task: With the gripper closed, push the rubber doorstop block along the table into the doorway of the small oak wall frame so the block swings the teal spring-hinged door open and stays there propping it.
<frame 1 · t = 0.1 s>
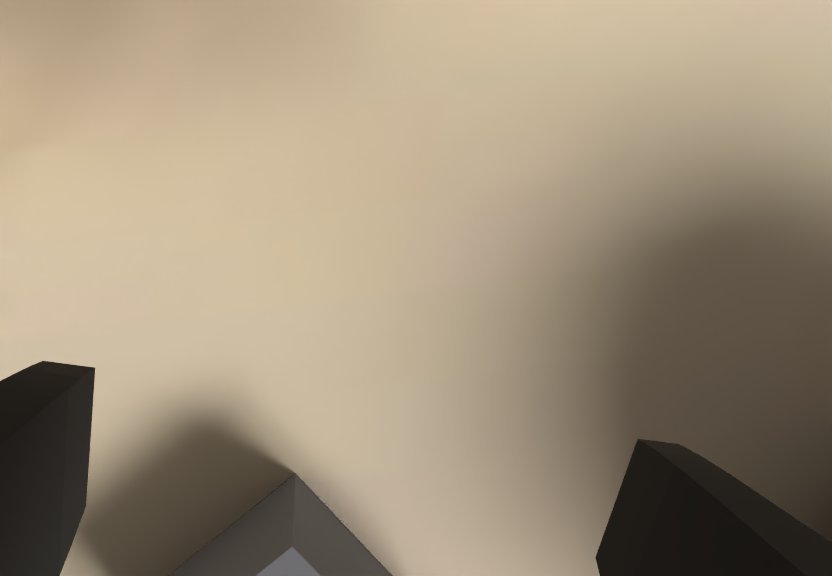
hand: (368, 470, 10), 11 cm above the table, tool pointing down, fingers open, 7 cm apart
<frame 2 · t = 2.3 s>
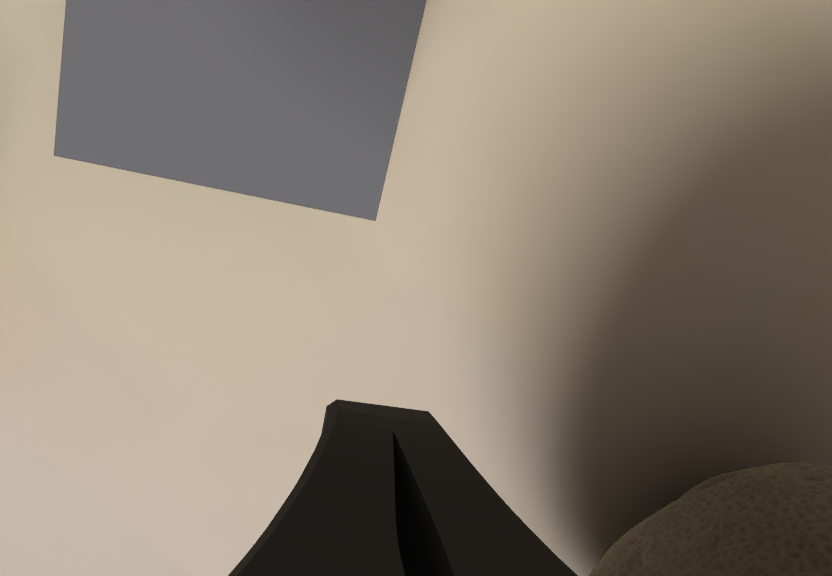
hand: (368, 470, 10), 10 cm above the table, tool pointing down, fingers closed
cantaloupe: (689, 542, 24), on the table
doorstop: (263, 19, 17), on the table
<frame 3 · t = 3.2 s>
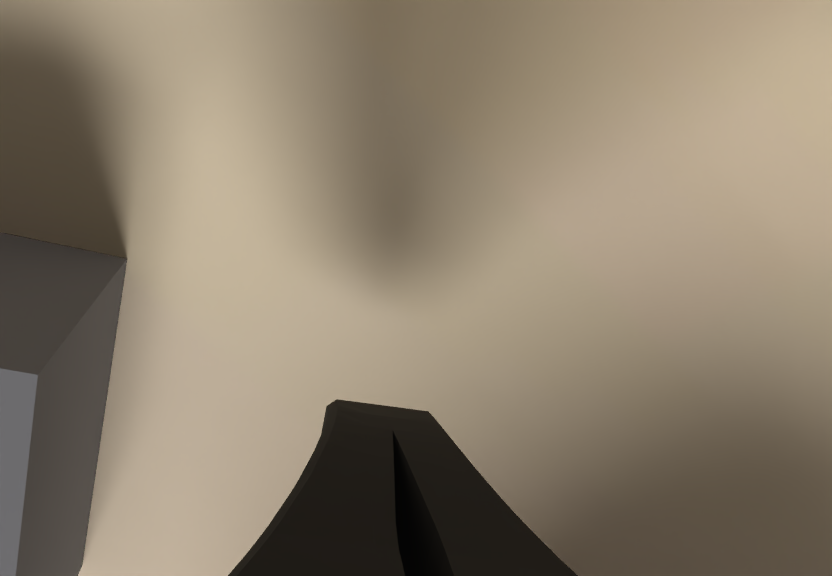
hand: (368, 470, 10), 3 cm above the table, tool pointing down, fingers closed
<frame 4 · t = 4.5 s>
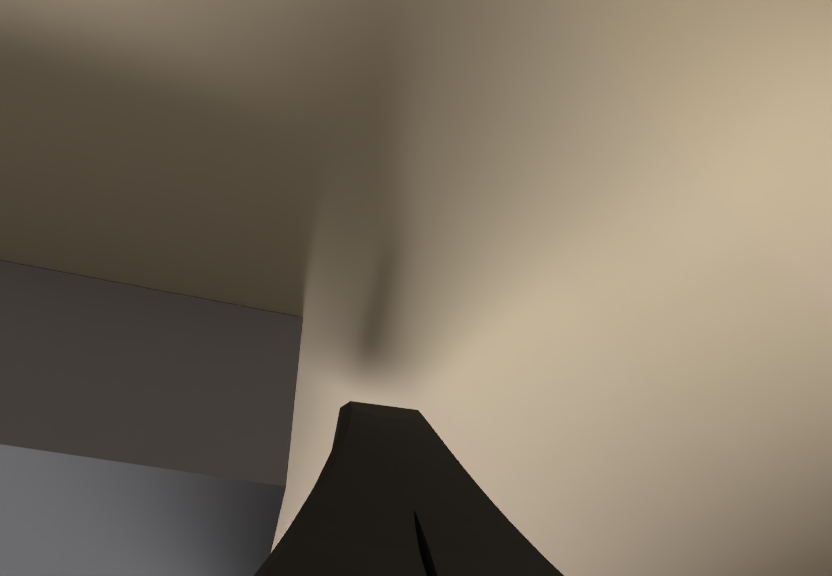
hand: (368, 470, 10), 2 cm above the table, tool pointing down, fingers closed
doorstop: (64, 460, 11), on the table, touching gripper
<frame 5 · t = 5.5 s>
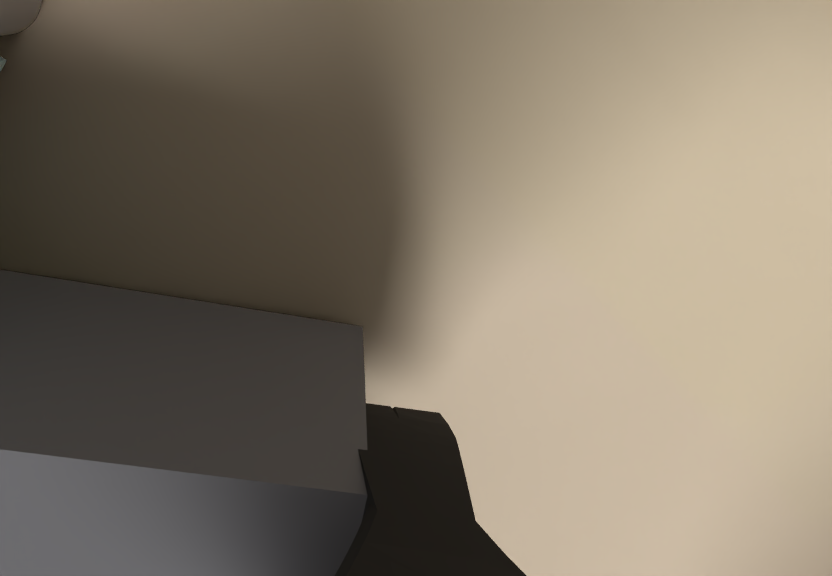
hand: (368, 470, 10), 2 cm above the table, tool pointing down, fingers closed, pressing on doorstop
doorstop: (132, 475, 11), on the table, touching door, gripper
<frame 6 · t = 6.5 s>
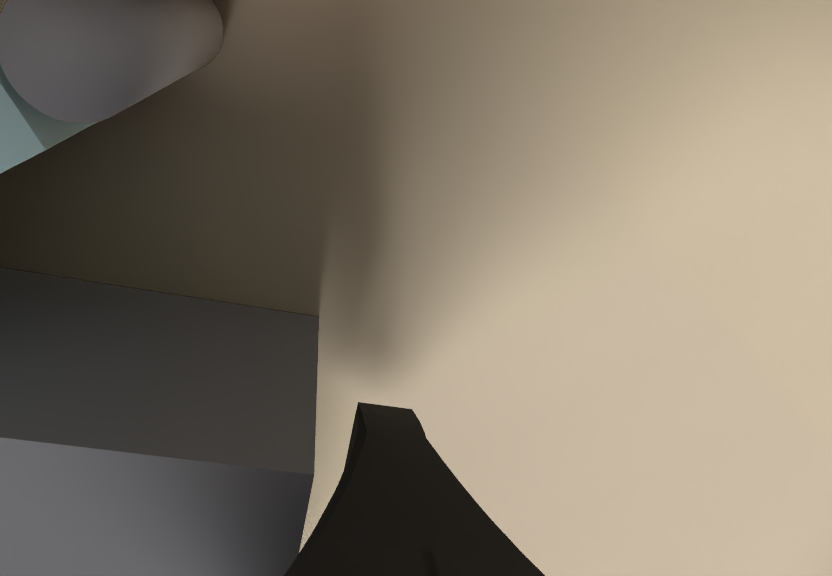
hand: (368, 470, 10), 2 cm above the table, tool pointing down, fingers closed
doorstop: (87, 468, 11), on the table, touching door, gripper
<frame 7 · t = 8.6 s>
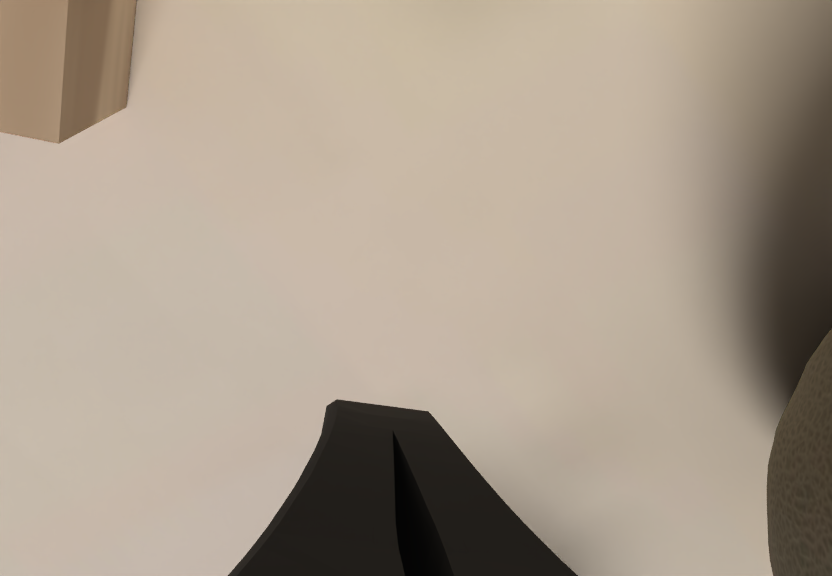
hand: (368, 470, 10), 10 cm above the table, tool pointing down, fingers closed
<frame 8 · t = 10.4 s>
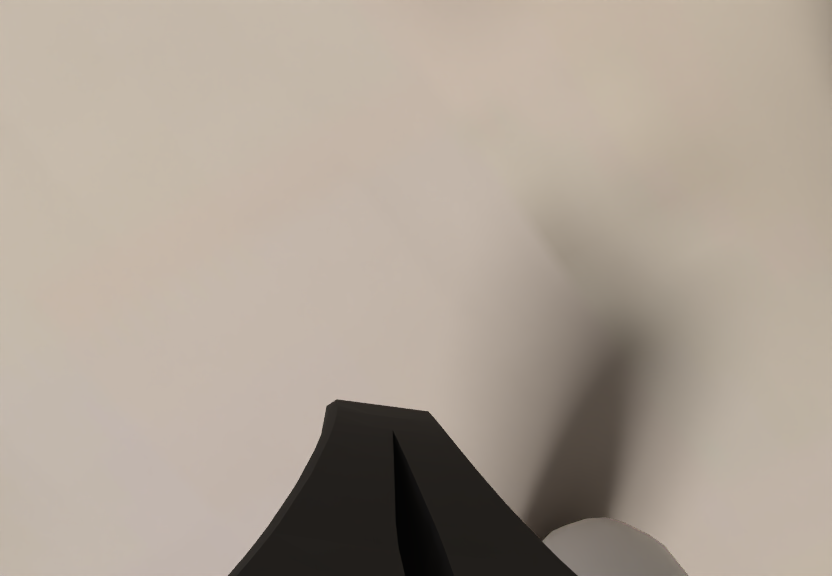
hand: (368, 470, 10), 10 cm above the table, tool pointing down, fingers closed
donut: (545, 574, 24), on the table
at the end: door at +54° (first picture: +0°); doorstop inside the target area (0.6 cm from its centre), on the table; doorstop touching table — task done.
